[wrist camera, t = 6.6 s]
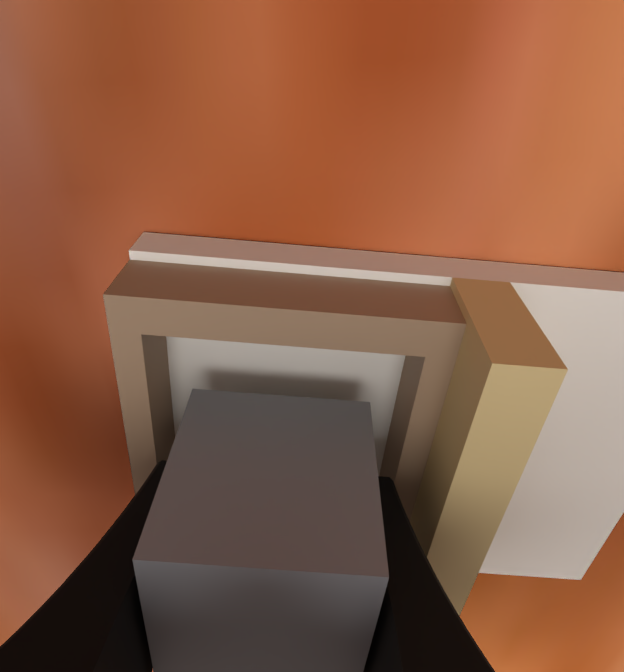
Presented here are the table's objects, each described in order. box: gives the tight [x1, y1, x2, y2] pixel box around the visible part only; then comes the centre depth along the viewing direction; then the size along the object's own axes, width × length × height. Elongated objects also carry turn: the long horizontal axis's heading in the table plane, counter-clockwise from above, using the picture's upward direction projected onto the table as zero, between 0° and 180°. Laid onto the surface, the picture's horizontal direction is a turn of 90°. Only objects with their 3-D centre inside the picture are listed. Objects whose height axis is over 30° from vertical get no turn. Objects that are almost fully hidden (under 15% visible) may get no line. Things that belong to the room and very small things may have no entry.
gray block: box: [132, 389, 389, 672], centre depth 10 cm, size 4×4×4 cm
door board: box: [103, 232, 624, 616], centre depth 12 cm, size 13×10×4 cm
